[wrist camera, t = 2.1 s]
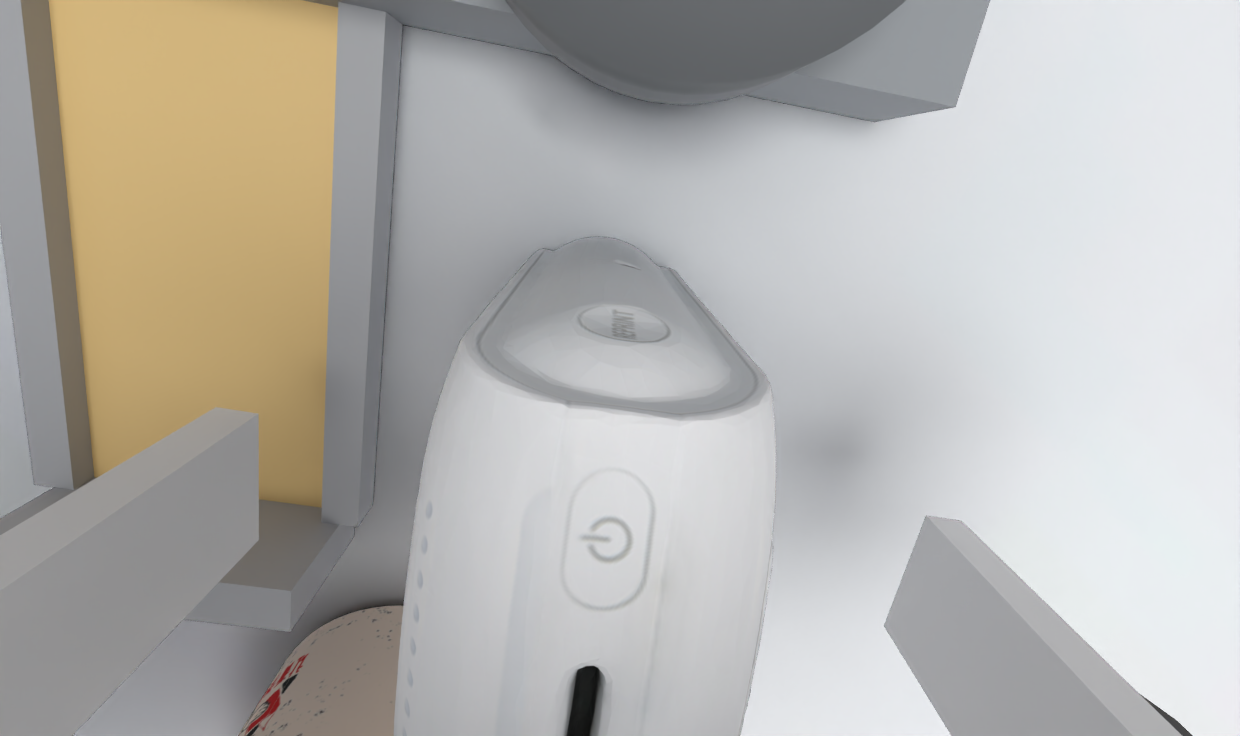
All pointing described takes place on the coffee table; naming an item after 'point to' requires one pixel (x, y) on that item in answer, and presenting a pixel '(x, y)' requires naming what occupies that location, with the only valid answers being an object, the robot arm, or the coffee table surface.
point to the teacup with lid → (336, 680)
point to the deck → (313, 210)
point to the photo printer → (590, 513)
